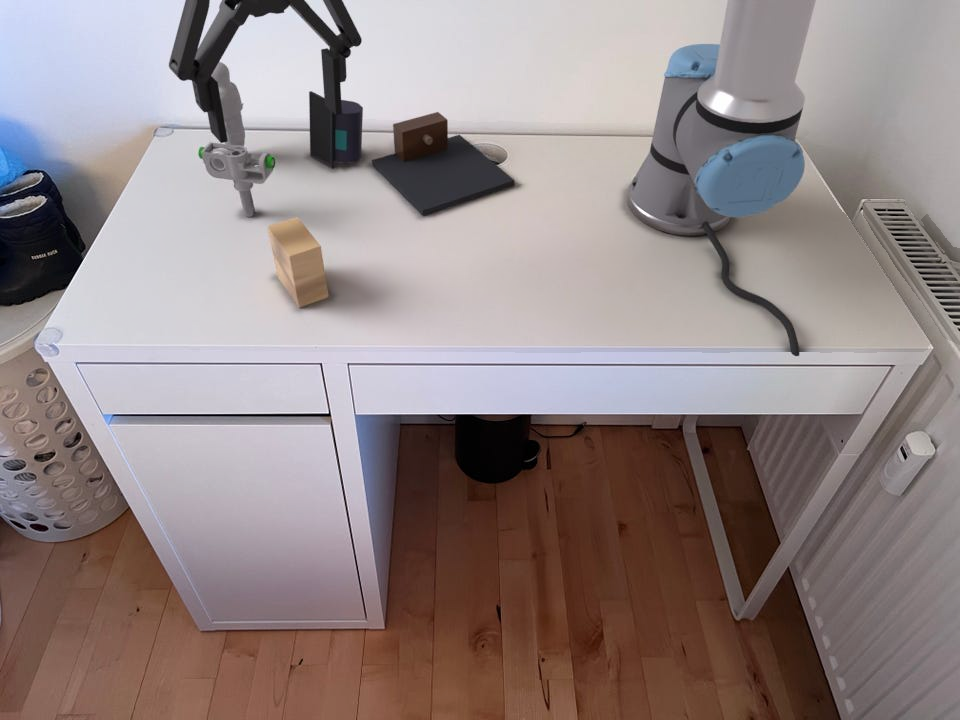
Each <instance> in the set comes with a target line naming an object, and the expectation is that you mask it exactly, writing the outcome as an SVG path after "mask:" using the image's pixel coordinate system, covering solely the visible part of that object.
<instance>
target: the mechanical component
mask: <svg viewBox="0 0 960 720" xmlns="http://www.w3.org/2000/svg"><path fill="white" fill-rule="evenodd" d="M198 158H199V159H201V160H202V162H203V164H204V166H205V170H206V172H207V173H208V174H209V176H211V177H213V178H215V179H222V180H228V181H233V189H235V190H236V191H238V193H239V198H240V202H241V207H242V211H243V215H244V216H245V218H252V217H253V216H254V213H256V209H255V203H254V199H253V195H252V192H251V189H252V188H253V187H254V184H256V185H263V184H265V182H266V181H267V179H268V178H269V177H270V175H271V174H272V173H273V172H274V169H275V167H276V163H277V162H276V158H275V156H273V155H271V154H270V153H266V152H263V153H262V154H261V155H260V157H259V159H255V158H252V153H250V152H248V149H247V147H245V145H244V146H235V145H227V144H225V143H220V142H213V141H210V142H208V144H206V146H200V147H199V148H198Z"/></svg>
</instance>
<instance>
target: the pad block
mask: <svg viewBox="0 0 960 720" xmlns="http://www.w3.org/2000/svg"><path fill="white" fill-rule="evenodd" d="M266 229H267V233H268V238H269V242H270V247H271V252H272V256H273V261H274V266H275V270H276V275H277V278H278V280H279V281H280V282H281V284H282V285H283V287H284V288H285V290H286V291H287V293H288V294H289V296H290V297H291V298H292V300H293V302H294V303H295V304H296V305H297V308H298V309H300V308H303V307H306V306H309V305H312V304H314V303H317V302H320V301H322V300H325V299H327V298H329V297H330V296H329V291H328V284H327V283H328V282H327V279H326V277H327V276H326V270H325V264H324V257H323V250H322V246H321V244H320V243H319V242H318V240H317V239H316V238H315V237H314V236H313V234H312V233H311V232H310V230H309V229H308V228H307V227H306V226H305V224H304V223H303V222H302V221H301V219H300V218H299V217H293V218H290V219H286V220H284V221H280V222H276V223H274V224H271V225H267V226H266Z"/></svg>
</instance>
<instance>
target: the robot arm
mask: <svg viewBox="0 0 960 720" xmlns="http://www.w3.org/2000/svg"><path fill="white" fill-rule="evenodd" d="M322 2H323V4H324V5H325V7H326V9H327V11H328V13H329V15H330V16H331V19H332V20H333V22H334V25H335V26H336V28H337V29H338V31H339V34H336V33H335V32H334V31H333V29H331V28H330V27H329V25H328V24H327V23H326V22H325V21H324V20H323V19H322V18H321V17H320V15H318V14H317V13H316V12H315V10H314V9H312V7H311V6H310V5H309V3H308V2H307V1H306V0H221V1H220V3H219V7H218V9H219V10H218V12H217V14H216V15H215V18H214V19H213V21H212V22H211V25H210V27H209V28H208V29H207V31H206V33H205V35H204V37H203V38H202V35H203V31H204V27H205V25H206V19H207V17H208V14H209V9H210V3H211V0H184V5H183V9H182V11H181V16H180V20H179V24H178V27H177V31H176V34H175V39H174V42H173V47H172V50H171V53H170V58H169V62H168V68H169V70H171V72H172V73H173V74H174V75H175V76H176V77H177V78H178V79H179V80H180V81H182V82H185V81H191V84H192V89H193V95H194V99H195V102H196V105H197V106H198V108H199V109H200V110H201V111H202V112H203V113H204V114H205V113H207V117H208V124H209V128H210V132H211V134H212V135H213V136H214V137H215V138H216V139H217V141H218V142H219V143H220V144H225V142H228V140H227V134H226V128H225V122H224V116H223V110H222V105H221V99H220V93H219V87H218V82H217V81H216V80H215V79H214V78H213V77H212V76H211V75H212V73H213V72H214V70H215V68H216V66H217V65H218V63H219V62H221V59H222V57H223V56H224V54H225V52H226V50H227V49H228V47H229V45H230V44H231V43H232V41H233V38H234V37H235V35H236V33H237V32H238V30H239V28H240V27H241V26H244V25H245V23H246V22H247V20H248V18H249V16H253V18H261V17H264V16H266V15H268V14H276V15H280V14H284V13H285V10H287V9H288V8H289V7H290V8H291V9H292V10H293V11H294V12H295V13H296V14H297V15H298V16H299V17H300V18H301V19H302V21H304V22H305V23H306V25H307V26H308V27H309V28H311V30H312V31H313V32H314V33H315V34H316V35H317V36H318V37H319V38H320V39H321V40H322V41H323V42H324V43H325V44H326V45H327V46H328V48H321V50H320V52H321V53H320V55H321V69H322V83H323V97H324V99H325V106H326V107H327V108H329V109H330V110H331V111H332V112H333V113H334V114H335V115H339V114H342V105H341V100H342V89H341V87H342V86H341V83H343V82H346V80H347V59H348V58H349V57H350V56H351V55H352V51H351V48H353V47H355V48H357V47H360V45H361V44H362V41H363V40H362V39H363V38H362V36H361V35H360V33H359V30H358V29H357V26H356V25H355V22H354V21H353V18H352V17H351V15H350V13H349V11H348V9H347V7H346V5H345V3H344V0H322ZM816 2H817V0H727V2H726V8H725V14H724V20H723V24H722V25H723V26H722V30H721V31H722V32H721V36H720V43H695V44H689V45H685V46H683V47H680V48H678V49H676V50H675V51H673V52H672V54H671V55H670V56H669V60H668V64H667V67H666V71H665V72H664V74H663V77H664V80H663V84H662V89H661V93H660V98H659V104H658V109H657V113H656V117H655V118H656V119H655V124H654V128H653V133H652V138H651V144H650V148H649V152H648V153H647V156H646V157H645V159H644V160H643V162H642V163H641V166H640V167H639V169H638V170H637V172H636V174H635V176H634V177H633V179H632V180H631V182H630V185H629V187H628V193H627V197H626V198H627V199H626V201H627V206H628V209H629V210H630V212H631V213H632V214H633V216H635V218H637V219H638V220H639V221H641V222H642V223H643V224H645V225H647V226H648V227H651V228H653V229H656V230H657V231H661V232H664V233H667V234H672V235H679V236H705V235H706V236H707V237H708V239H709V241H710V243H711V245H712V246H713V248H714V249H715V251H716V252H717V254H718V256H719V258H720V260H721V272H720V277H721V281H722V283H723V286H725V288H726V289H728V290H729V291H730V292H731V293H732V294H734V295H736V296H738V297H740V298H742V299H745V300H747V301H750V302H752V303H755V304H757V305H759V306H761V307H763V308H764V309H765V310H767V311H768V312H769V313H771V314H772V315H773V316H774V317H775V318H776V319H777V320H778V321H779V322H780V323H781V324H782V326H783V328H784V329H785V332H786V334H787V335H786V336H787V338H788V342H789V348H790V353H791V355H793V356H794V357H799V356H800V346H799V340H798V337H797V333H796V330H795V327H794V325H793V323H792V322H791V319H789V317H788V316H787V315H786V314H785V313H784V312H783V311H782V310H780V308H779V307H777V306H776V305H775V304H773V302H771V301H769V300H768V299H766V298H764V297H762V296H760V295H758V294H756V293H753V292H750V291H747V290H745V289H743V288H741V287H739V286H738V285H736V284H734V282H733V281H732V280H731V278H730V266H731V265H730V260H729V256H728V254H727V252H726V250H725V248H724V246H723V245H722V243H721V241H720V240H719V239H718V237H717V235H716V232H717V231H719V230H721V229H723V228H724V227H726V225H727V224H728V223H730V220H731V218H747V217H751V216H756V215H760V214H763V213H765V212H767V211H769V210H771V209H773V208H774V206H775V205H777V204H779V203H782V202H783V201H785V200H786V199H787V198H788V197H790V195H791V194H792V193H793V192H794V191H795V189H796V188H797V187H798V185H799V183H800V182H801V180H802V179H803V175H804V172H805V166H806V165H805V164H806V161H805V157H804V156H805V155H804V151H803V148H802V147H801V145H800V144H799V143H798V142H797V141H796V137H797V132H798V128H799V125H800V122H801V121H800V120H801V117H802V113H803V110H804V106H805V101H806V100H805V98H806V96H805V94H804V92H803V91H802V89H801V88H800V87H799V86H798V84H797V83H796V79H797V75H798V71H799V67H800V63H801V59H802V56H803V52H804V47H805V44H806V40H807V36H808V32H809V29H810V24H811V21H812V17H813V14H814V9H815V6H816ZM201 38H202V41H201ZM200 42H201V43H200Z"/></svg>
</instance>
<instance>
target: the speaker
mask: <svg viewBox="0 0 960 720" xmlns="http://www.w3.org/2000/svg"><path fill="white" fill-rule="evenodd" d="M308 101H309V102H308V103H309V104H308V107H309V109H308V111H309V112H308V113H309V157H311V158H312V159H313V160H315V161H316V162H317V161H318V162H319V163H321V164H323V165H324V166H326V167H328V168H329V169H332V170H333V169H335V163H339V164H351V163H357V162H359V161H360V159H361V157H362V144H363V143H362V142H363V117H364V114H363V113H364V107H363V106H362V105H361V104H360V103H359V102H356V101H352V100H346V99H341V105H342V114H339V115H335V114H334V113H333V112H332V111H331V110H330V109H329V108H327V107H326V106H325V99H324V96H322V95H320V94H318V93H316V92H314V91H311V90H310V91H308Z"/></svg>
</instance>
